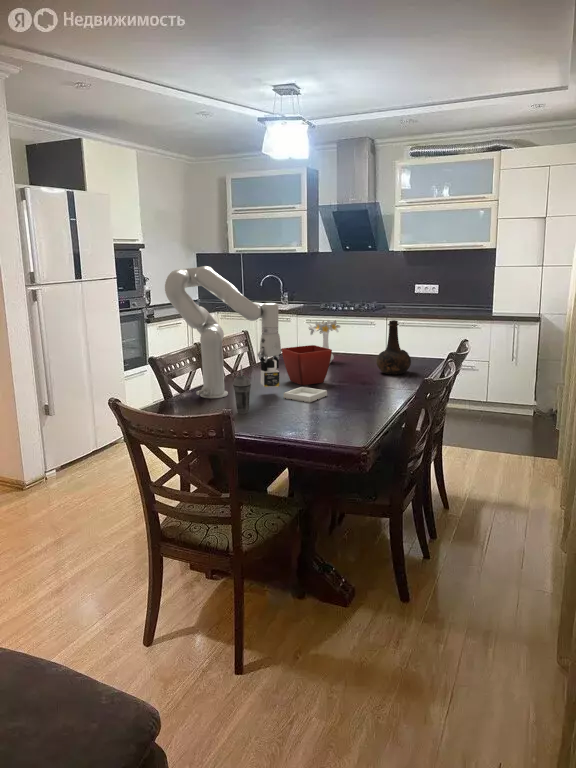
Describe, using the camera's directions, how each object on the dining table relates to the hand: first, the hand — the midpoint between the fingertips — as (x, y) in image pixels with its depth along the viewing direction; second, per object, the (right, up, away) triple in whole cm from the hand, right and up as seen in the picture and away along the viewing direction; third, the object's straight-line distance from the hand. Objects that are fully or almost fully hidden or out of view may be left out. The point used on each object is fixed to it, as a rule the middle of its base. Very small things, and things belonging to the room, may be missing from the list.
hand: (269, 369), depth 264 cm
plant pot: (+18, -6, +27) cm, 33 cm away
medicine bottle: (0, -8, +2) cm, 8 cm away
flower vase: (+30, +5, +76) cm, 82 cm away
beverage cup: (-10, -19, -27) cm, 34 cm away
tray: (+16, -13, -3) cm, 21 cm away
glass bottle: (+64, -1, +44) cm, 78 cm away
